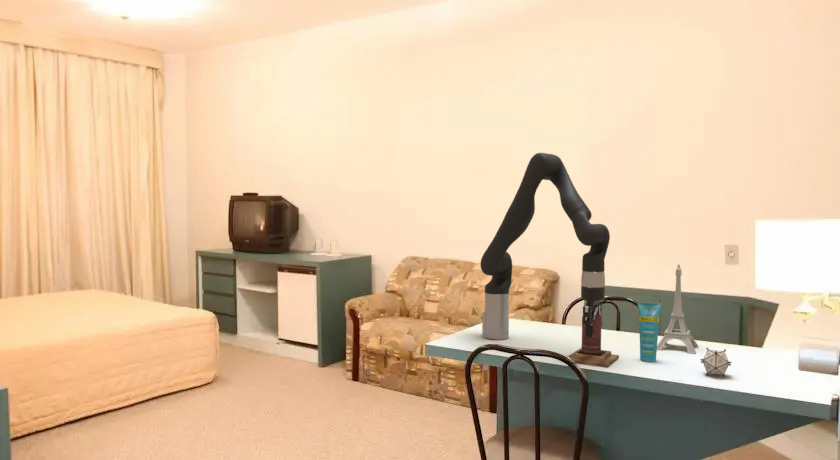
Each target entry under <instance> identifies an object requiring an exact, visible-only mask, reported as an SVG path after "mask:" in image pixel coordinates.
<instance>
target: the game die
mask: <svg viewBox="0 0 840 460" xmlns="http://www.w3.org/2000/svg"><path fill="white" fill-rule="evenodd" d="M706 350H707V351H706V352H705V355H704V356H703V358H700V363H701V364H703V365H704V366H703V367H704V368H705V371H706V373H705V376H708V375H718V376H723V378H726V375H725V374H726V372H727V369H728V367H729V366H732V361H729V358H728V357H727V355H726V353H725V352H726V351H727V349H726V348H725V349H723V350H714V349H709V347H706Z"/></svg>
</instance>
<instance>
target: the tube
mask: <svg viewBox="0 0 840 460" xmlns="http://www.w3.org/2000/svg"><path fill="white" fill-rule="evenodd" d="M636 303H637V304H636V305H637V309H638V310H637V311H638V322H639V323H638V324H639V328H638V329H639V359H640V361H643V362H646V363H654V362H656V361H657V352H658V350H657V345H658V337H659V327H660V318H661V312H662V310H661V309H662V302H645V301H643V302H641V301H637V302H636Z"/></svg>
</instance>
